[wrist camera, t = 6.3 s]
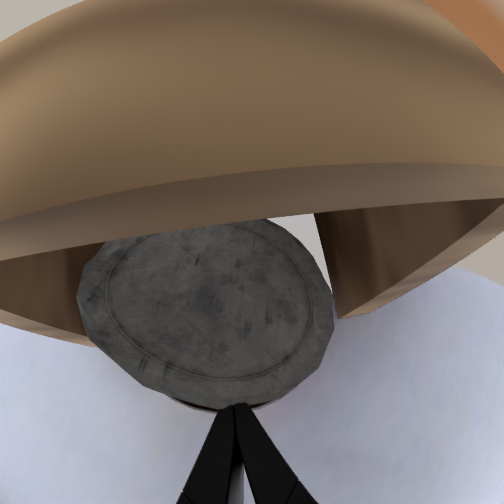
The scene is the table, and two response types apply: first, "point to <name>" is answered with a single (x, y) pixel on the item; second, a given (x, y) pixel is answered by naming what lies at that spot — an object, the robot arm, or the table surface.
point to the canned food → (210, 312)
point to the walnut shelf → (244, 140)
